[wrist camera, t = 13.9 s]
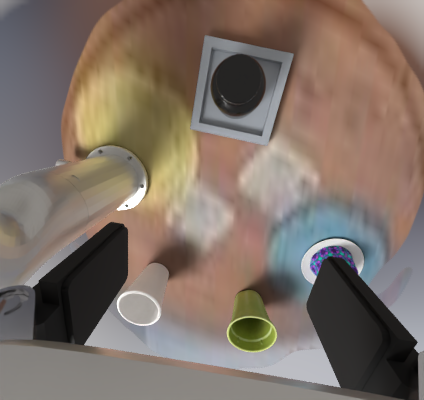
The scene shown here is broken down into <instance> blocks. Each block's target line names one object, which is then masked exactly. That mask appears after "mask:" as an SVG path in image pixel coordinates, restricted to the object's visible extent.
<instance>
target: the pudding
mask: <svg viewBox="0 0 424 400" xmlns="http://www.w3.org/2000/svg"><path fill="white" fill-rule="evenodd" d="M332 245H336V246H335V247H333V248H330V247H327V246H332ZM340 246H341V247H340ZM323 247H324V248H323ZM342 247H344V248H346V249H347V250H349V251H350V253H351V254H352V256H353V258H352V256H351V254H350V253H349V252H348V251H344V250H343V248H342ZM321 248H322V249H321ZM320 249H321V250H320ZM318 250H320V252H319V253H316V252H317V251H318ZM315 253H316V254H315ZM312 256H313V257H312ZM329 256H332V257H338V258H343V259H344V260H345V261H346V262H347V263H348V264H349V265H350V266H351V267H352V269H353V270H354V271H355V272H356V273H357V274H358V275H359V274H360V272H361V271H362V268H363V265H364V256H363V253H362V251H361V249H360V248H359V247H358V246H357V245H356V244H354V243H352V242H350V241H348V240H345V239H328V240H324V241H321V242H319V243H317V244H315V245H314V246H312V247H311V248H310V249H309V250H308V251H307V252H306V254H305V255H304V257H303V260H302V264H301V268H302V273H303V275H304V277H305V278H306V279H307V280H308V281H309V282H310V283H312V284H313V285H314V282H315V280H316V277H317V275H318V272H319V269H320V267H321V264H322V261H323V260H324V259H327V257H329ZM311 258H312V261H313V262H312V263H311V264H310V260H311ZM310 268H311V269H310ZM311 270H312V271H313V272H314V273H315V275H316V276H315V275H314V274H313V273H312V271H311Z"/></svg>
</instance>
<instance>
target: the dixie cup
mask: <svg viewBox="0 0 424 400" xmlns="http://www.w3.org/2000/svg"><path fill="white" fill-rule="evenodd" d="M168 278H169V272H168V270H167V268H166V267H165V266H163V265H162V264H159V263H151V264H149V265H148V266H147V267H146V268H145V269H144V270H143V271H142V272H141V274H140V275H139V276H138V277H137V278H136V280H135V281H134V282H133V283H132V284H131V285H130V287H129V288H128V289H127V290H126V291H125V292H124V293H123V294H122V295H121V296H120V297H119V298H118V301H117V308H118V311H119V313H120V314H121V316H122V317H123V318H124V319H126V320H127V321H129V322H130V323H133V324H136V325H141V326H145V325H150V324H153V323H155V322H156V321H157V320H158V319H159V318H160V315H161V307H162V303H163V298H164V294H165V290H166V286H167V282H168Z"/></svg>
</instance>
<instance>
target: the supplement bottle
mask: <svg viewBox="0 0 424 400" xmlns="http://www.w3.org/2000/svg"><path fill="white" fill-rule="evenodd" d="M210 88H211V95H212V99H213V101H214V103H215V105H216V106H217V108H218V109H219V110H220V112H221V113H222V114H223V115H225V116H226V117H228V118H231V119H241V118H244V117H246V116H248V115H249V114H251V113H252V112H253V111H254V110H255V109H256V108H257V107H258V105H259V104H260V103H261V101H262V99H263V97H264V94H265V90H266V77H265V73H264V70H263V68H262V67H261V65H260V64H259V63H258V62H257V61H256V60H255V59H254V58H252V57H250V56H248V55H244V54H236V55H232V56H229V57H227V58H225V59H224V60H223V61H222V62H221V63H220V64H219V65H218V66H217V67H216V69H215V71H214V73H213V75H212V79H211V86H210Z"/></svg>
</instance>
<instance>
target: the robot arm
mask: <svg viewBox="0 0 424 400" xmlns="http://www.w3.org/2000/svg"><path fill="white" fill-rule="evenodd" d="M102 151H103V152H102ZM131 157H132V159H131ZM143 184H144V186H143ZM147 189H148V176H147V172H146V170H145V168H144V165H143V164H142V162H141V161H140V160H139V159H138V157H137V156H136V155H134V154H133V153H132V152H131V151H129V150H127V149H125V148H123V147H119V146H114V145H109V146H102V147H99V148H97V149H94V150H93V151H92V152H91V153H90V154H89V155H88V156H87V157H86V159H85V160H81V161H76V162H70V161H66V160H62V159H60V160H58V161H57V163H56V166H54V167H50V168H45V169H41V170H37V171H32V172H28V173H24V174H21V175H18V176H15V177H13V178H11V179H9V180H7V181H6V182H4V183H3V184H1V185H0V400H424V351H423V352H420V353H418V352H417V351H416V350H415V349H414V347H415V345H416V344H417V341H416V340H415V339H414V337H413V336H412V335H411V334H410V333H409V332H408V331H407V330H406V328H405V327H404V326H403V325H402V324H401V323H400V322H399V321H398V319H397V318H396V317H395V316H394V315H393V314H392V313H391V312H390V310H389V309H388V308H387V307H386V306H385V305H384V304H383V302H382V301H381V300H380V299H379V298H378V297H377V296H376V295H375V293H374V292H373V291H372V290H371V289H370V288H369V287H368V285H367V284H366V283H365V282H364V281H363V280H362V279H361V278H360V276H359V275H358V274H357V273H356V272H355V271H354V270H353V269H352V267H351V266H350V265H349V264H348V263H347V262H346V261H345V260H344V259H343V258H338V257H332V256H329V257H327V259H324V260H323V261H322V264H321V267H320V269H319V272H318V275H317V277H316V280H315V282H314V285H313V288H312V290H311V293H310V295H309V298H308V301H307V311H308V313H309V316H310V318H311V320H312V323H313V325H314V327H315V329H316V332H317V334H318V336H319V339H320V341H321V343H322V345H323V348H324V350H325V352H326V354H327V357H328V359H329V362H330V364H331V366H332V368H333V371H334V373H335V375H336V378H337V380H338V382H339V384H340V387H341V388H340V387H333V386H328V385H323V384H317V383H311V382H305V381H300V380H293V379H288V378H282V377H277V376H270V375H264V374H259V373H253V372H247V371H241V370H235V369H229V368H223V367H217V366H211V365H205V364H199V363H193V362H187V361H181V360H175V359H169V358H162V357H156V356H150V355H144V354H138V353H132V352H125V351H118V350H113V349H106V348H99V347H92V346H85V345H84V344H85V342H86V341H87V339H88V338H89V336H90V335H91V333H92V332H93V330H94V329H95V327H96V326H97V324H98V322H99V321H100V319H101V318H102V316H103V315H104V313H105V312H106V310H107V309H108V307H109V306H110V304H111V303H112V301H113V300H114V298H115V297H116V295H117V294H118V292H119V291H120V289H121V287H122V286H123V284H124V283H125V281H126V279H127V276H128V229H127V228H126V227H125V226H124V224H120V223H114V222H110V223H109V224H107V225H106V226H105V227H104V228H102V229H101V230H100V231H99V232H98V233H96V234H95V235H94V236H93V237H91V238H90V239H89V240H88V241H87V242H85V243H84V244H83V245H82V246H80V247H79V248H78V249H77V250H75V251H74V252H73V253H72V254H71V255H69V256H68V257H67V258H66V259H64V260H63V261H62V262H61V263H60V264H58V265H57V266H56V267H55V268H53V269H52V270H51V271H50V272H49V273H47V274H46V275H45V276H44V277H42V278H41V279H40V280H39V283H38V284H37V285H35V286H34V287H33V288H31V287H29V286H25V285H24V284H25V283H26V282H27V281H28V280H29V279H30V278H31V277H32V276H33V275H34V274H35V272H37V271H38V270H39V269H40V268H41V267H42V266H43V265H44V264H45V263H46V262H47V261H48V260H49V259H51V258H52V257H53V256H54V255H55V254H57V253H58V252H59V251H60V250H62V249H63V248H64V247H66V246H67V245H68V244H70V243H71V242H72V241H74V240H75V239H77V238H78V237H79V236H81V235H82V234H83V233H85V232H86V231H88V230H89V229H90V228H92V227H93V226H95V225H96V224H97V223H99V222H100V221H101V220H103V219H104V218H106V217H107V216H108V215H110V214H111V213H113V212H114V211H115V210H127V209H130V208H132V207H135V206H136V205H137V204H139V203H140V202H141V201H142V200H143V198H144V197H145V195H146V192H147Z"/></svg>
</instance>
